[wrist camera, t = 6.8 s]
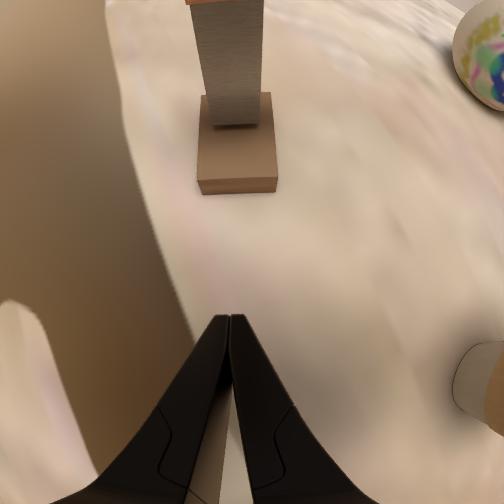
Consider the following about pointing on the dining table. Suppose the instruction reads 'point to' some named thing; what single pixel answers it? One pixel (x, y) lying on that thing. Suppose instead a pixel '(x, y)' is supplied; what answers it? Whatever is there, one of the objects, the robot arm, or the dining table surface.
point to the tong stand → (237, 153)
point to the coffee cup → (482, 384)
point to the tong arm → (230, 57)
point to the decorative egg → (482, 52)
